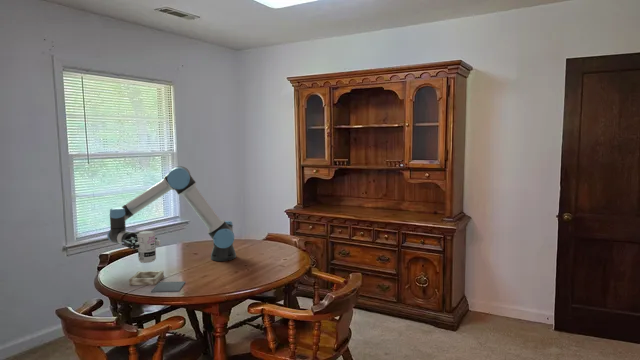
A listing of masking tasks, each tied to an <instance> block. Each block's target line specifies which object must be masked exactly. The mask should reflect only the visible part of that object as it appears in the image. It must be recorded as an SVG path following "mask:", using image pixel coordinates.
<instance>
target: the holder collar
mask: <svg viewBox="0 0 640 360" xmlns="http://www.w3.org/2000/svg"><path fill="white" fill-rule="evenodd" d="M164 275H165V274H164V270H145V271H144V270H143V271H141V270H140V271H137V272H136V273H135V274H134V275H132V276H131V277H130V278H129V279H128V281H129V286H147V285H153V286H154V285H155V286H156V285H157V284H158V283H159V282H161V281H162V279H163V278H164Z"/></svg>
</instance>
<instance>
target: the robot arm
mask: <svg viewBox="0 0 640 360" xmlns="http://www.w3.org/2000/svg"><path fill="white" fill-rule="evenodd" d="M170 191H175V192H176V193H177V195H178V196H182V197H183V198H184V199H185V200H186V202H187V203H188V204H189V206H190V207H191V208H192V210H193V211H194V212H195V214H196V215H197V216H198V218H199V219H200V220H201V221H202V223H203V224H204V225H205V227H206V228H207V234H208V235H209V236H210V238H211V239H212V240H213V242H212V243H213V247H212V250H211V253H210V259H211V260H212V261H215V262H228V260H229V261H232V259H233V260H235V259H236V258H237V253H236V250H235V247H234V241H235V233H234V231H233V230H234V229H233V228H234V227H233V226H234V225H233V221H232V220H231V221H230V220H224V219H220V217H219V216H218V214H216V212H215V210H214V209H213V208H212V206H211V205H210V204H209V202H208V201H207V200H206V198H205V197H204V195H203V194H202V193H201V192H200V190H199V189H198V187H197V182H196V181H195V179H194V178H193V177H192V175H191V171H190V170H189V169H188V168H187V167H185V166H181V165H179V166H175V167H173V168H171V170H169V172H168V173H167V174H166V175H164V176H163V179H161V180H160V181H158V182H157V183H156V184H154V185H152V186H150V187H149V188H148V189H146V190H145V191H144V192H142V193H141V194H138V196H136V197H135V198H133V199H131V200H130V201H129V202H127V203H126V204H124V205H123V206H121V207H120V206H119V207H112V208H110V210H109V223H110V230H109V231H108V232H107V239H108V241H110V242H112V243H114V244H119V245H121V246H124V247H126V248H128V249H132V250H136V249H138V248H139V249H143V250H144V249H145V244H143V243H139V242H138V234H136V233H135V232H132V231H128V230H126V221H127V220H128V219H129V218H131V217H133V216H134V215H136V214H137V213H138V212H140V211H142V210H143V209H144V208H146V207H147V206H149V205H151V204H152V203H153V202H155V201H157V200H158V199H159V198H161V197H163V196H165V195H166V194H167V193H168V192H170ZM161 243H162V242H161V240H159V239H158V237H155V246H158V247H161V246H162V245H161ZM234 258H235V259H234Z"/></svg>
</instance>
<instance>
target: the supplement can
mask: <svg viewBox="0 0 640 360" xmlns="http://www.w3.org/2000/svg"><path fill="white" fill-rule="evenodd" d="M137 236H138V242H139V243H143V244H145V249H144V250H143V249H139V248H137V251H138V252H137V254H138V262H139V263H142V264H149V263H152V262H153V263H154V261H156V260H157V253H156V252H157V251H156V246H157V245H155V238H156V233H155V231H153V230H142V231H139V232H138V234H137Z"/></svg>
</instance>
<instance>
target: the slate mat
mask: <svg viewBox="0 0 640 360" xmlns="http://www.w3.org/2000/svg"><path fill="white" fill-rule="evenodd" d="M185 284H186V281H159V282H158V283H157V284H156V285H155V286H154V287H153V288H152V289H151V291H150V292H151V293H176V292H180V291H181V289H182V288H183V286H185Z"/></svg>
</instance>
